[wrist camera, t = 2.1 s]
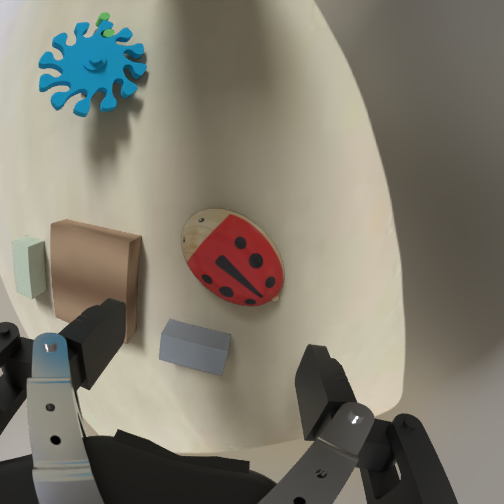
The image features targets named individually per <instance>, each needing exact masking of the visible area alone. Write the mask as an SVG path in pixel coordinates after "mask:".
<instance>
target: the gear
mask: <svg viewBox="0 0 504 504" xmlns="http://www.w3.org/2000/svg"><path fill="white" fill-rule="evenodd" d="M109 17H110V14H109V13H106V12H105V13H101V14H100V16H99V18H98V20H97V22H96V26H97V27H98V29H96V30H95V32H94V34H93V36H92V37H90V38H85V37H83V35H84V34H85V33H86V32H87V30H88V28H89V23H87V22H83V23H77V25H76V27H75V30H74V34H75V35H76V39H77V40H76V43H75V44H74V45H73V46H67V45H66V40H67V34H66V33H61V34H59V35H57V36H56V37H54V38H53V42H52V46H53V47H54V48H56V49H58V50H60V51H61V53H62V55H63V59H62V60H59V61H57V60H55V59H54V57H53V54H52V53H51V52H45V53H44V54H43V56H42V57H41V59H40V61H39V68H41V69H46V68H52V69H55V70H57V71H59V72H60V73H61V74H62V75H61V76H60V77H57V78H55V77H52V76H51V75H49V74H43V75H41V77H40V82H39V91H40V92H45V91H47V90H48V89H50V88H52V87H54V86H58V85H65V86H68V87H69V88H70V90H69V91H67V92H57V93H55V94H53V95H52V97H51V104H52V106H53V107H54V108H55V109H56V111H57V110H60V109H61V108H62V107H63V106H64V104H65V102H66V101H67V100H68V99H69V98H70V97H72V96H74V95H76V94H78V93H84V94H85V95H86V98H85V99H83V100H81V101H79V102H78V103H77V104H76V105H75V108H74V111H73V113H74V114H75V115H77V116H81V117H85V116H86V115H87V113H88V111H89V109H90V100H91V98H92V97H93V96H94V94H95V93H96V92H99V91H102V92H104V94H105V98H104V99H103V101H102V102H101V104H100V111H101V112H107V111H112V110H114V108H115V107H116V105H117V101H116V99H115V98H114V96H113V93H112V85H113V83H114V82H118V83H120V84H121V92H120V93H121V96H122V97H123V98H128V97H129V96H131V95H132V94H133V93H134V92H135V91H136V90H137V89H138V88H137V86H136V84H134V83H132V82H131V81H129V80H128V79H127V78H126V76H125V74H124V72H123V69H125V68H126V69H128V70H129V71H130V73H131V75H132V77H134V78H136V79H139V78H140V77H141V75H142V74H143V73H144V72H145V70H146V67H147V66H146V65H145V64H143V63H135V62H132V61H130V60H128V59H127V58H126V57H125V56H124V55H123V54H128V55H130V56H131V57H133V58H140V57H141V55H142V54H143V52H144V47H143V44H140V43H138V44H135V45H132V46H122V45H118V44H116V42H117V41H119V42H127V41H129V40H130V38H131V37H132V36H133V34H132V32H131V31H130V30H129V29H128V28H124V29H122V30H121V31H120V32H119V33H118V34H116V35H114V31H113V30H112V29H111V28H112V26H113V23H111V22H109V21H108V19H109ZM113 35H114V36H113Z"/></svg>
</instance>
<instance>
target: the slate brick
mask: <svg viewBox="0 0 504 504" xmlns="http://www.w3.org/2000/svg"><path fill="white" fill-rule="evenodd" d="M230 336H231V334H227V333H222V332H218V331H214V330H210V329H206V328H202V327H198V326H194V325H191V324H187V323H183V322H180V321H176V320H172V319H169V321H168V323H167V325H166V326H165V328H164V330H163V332H162V333H161V342H160V353H159V359H160V360H163V361H166V362H170V363H173V364H177V365H180V366H184V367H188V368H191V369H195V370H199V371H203V372H207V373H212V374H216V375H221V376H222V373H223V369H224V366H225V362H226V358H227V354H228V350H229V343H230Z"/></svg>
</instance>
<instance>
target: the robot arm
mask: <svg viewBox="0 0 504 504" xmlns="http://www.w3.org/2000/svg"><path fill="white" fill-rule="evenodd" d="M125 335H126V304H125V302H122V301H119V300H116V299H113V298H108V299H107V300H105V301H104V302H103V303H102V304H101V305H100V306H99V305H95V306H92V307H89V308H87V309H86V310H85V311H84V312H82V313H81V315H79V316H78V317H77V318H76V319H74V320H73V321H72V322H71V323H70V324H68V325H67V326H66V327H65V328H64V329H63V330H62V331H61V332H59V333H58V334H56V333H44V334H41V335H39V336H37V337H36V338H35V340H32V339H27V338H23V337H20V334H19V330H18V328H17V326H16V325H15V324H13V323H10V322H2V323H0V368H2V371H3V375H2V376H1V377H0V435H1V433H2V432H3V430H4V429H5V427H6V426H7V424H8V423H9V421H10V420H11V419H12V417H13V416H14V414H15V413H16V412H17V410H18V409H19V407H20V406H21V405H22V403H23V402H24V401H25V399H26V398H27V410H28V425H29V435H30V443H31V450H32V454H30V455H26V456H22V457H19V458H14V459H10V460H5V461H1V462H0V504H333V502H334V501H335V499H336V498H337V496H338V495H339V493H340V492H341V490H342V488H343V487H344V485H345V484H346V482H347V480H348V478H349V477H350V475H351V473H352V472H353V470H354V468H355V467H358V468H360V472H361V477H362V481H363V486H364V490H365V495H366V500H367V504H458V503H457V500H456V497H455V495H454V492H453V490H452V487H451V485H450V483H449V480H448V478H447V476H446V473H445V471H444V469H443V466H442V464H441V462H440V460H439V458H438V456H437V454H436V452H435V449H434V447H433V445H432V443H431V441H430V439H429V437H428V435H427V433H426V431H425V429H424V427H423V425H422V423H421V422H420V420H418V419H417V418H416V417H414V416H413V415H409V414H399V415H397V416H396V417H395V418H394V420H393V421H392V422H388V421H384V420H379V419H375V418H374V415H373V413H372V411H371V410H370V409H369V408H368V407H366V406H365V405H363V404H360V403H357V400H356V398H355V395H354V393H353V391H352V388H351V386H350V383H349V382H348V379H347V376H346V375H345V372H344V369H343V367H342V365H341V364H340V363H339V362H338V361H337V360H336V359H334V358H330V355H329V353H328V350H327V348H326V347H325V346H319V345H312V344H309V345H308V346H307V347H306V350H305V352H304V355H303V357H302V360H301V362H300V365H299V367H298V370H297V372H296V377H295V387H296V393H297V398H298V404H299V410H300V416H301V422H302V428H303V434H304V440H306V441H314V443H313V444H312V445H311V446H310V448H309V449H308V450H307V451H306V452H305V454H304V455H303V456H302V457H301V458H300V460H299V461H298V462H297V463H296V464H295V465H294V466H293V468H292V469H291V470H290V471H289V472H288V473H287V474H286V475H285V476H284V477H283V478H282V480H281V481H280V482H279V483H278V484H277V483H275V482H274V481H272V480H271V479H269V478H267V477H266V476H264V475H262V474H260V473H257V472H255V471H252V470H249V463H250V462H249V461H244V460H236V459H228V458H222V457H217V456H214V457H213V456H212V457H211V456H210V457H197V456H180V455H177V454H175V453H173V452H171V451H169V450H167V449H165V448H163V447H161V446H159V445H157V444H155V443H153V442H152V441H150V440H148V439H144V438H141V437H138V436H136V435H133V434H130V433H127V432H124V431H122V430H119V429H118V430H117V432H116V434H115V436H114V437H113V436H89V437H88V434H87V431H86V428H85V424H84V420H83V416H82V412H81V408H80V403H79V398H78V394H77V390H78V388H79V387H80V386H81V387H83V388H85V389H88V390H90V389H91V387H92V386H93V385H94V383H95V382H96V380H97V379H98V378H99V376H100V375H101V373H102V372H103V371H104V369H105V368H106V366H107V365H108V364H109V362H110V361H111V360H112V358H113V357H114V355H115V354H116V353H117V351H118V350H119V349H120V347H121V346H122V344H123V342H124V340H125ZM396 462H397V464H398V467H399V470H400V473H401V480H399V476H398V473H397V470H396V467H395V463H396Z"/></svg>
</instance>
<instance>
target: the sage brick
mask: <svg viewBox="0 0 504 504" xmlns="http://www.w3.org/2000/svg"><path fill="white" fill-rule="evenodd" d="M12 248H13V263H14V274H15V282H16V290H17V292H18V293H20V294H22V295H24V296H26V297H28V298H30V299H34V298H35V297H37V296H38V295H40V294H41V293H43V292H44V291H46V279H45V262H44V241H43V240H40V239H37V238H34V237H31V236H26V237H23V238H20V239H17V240H15V241H12Z"/></svg>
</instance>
